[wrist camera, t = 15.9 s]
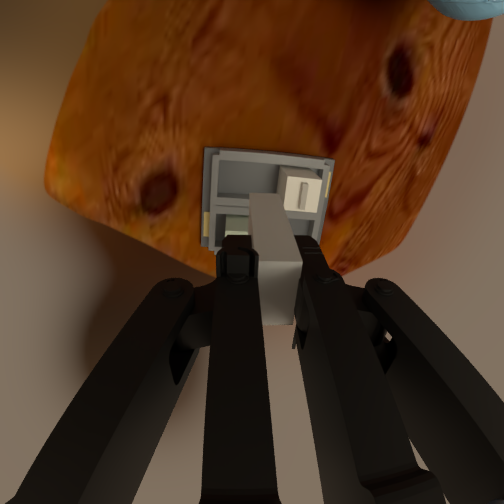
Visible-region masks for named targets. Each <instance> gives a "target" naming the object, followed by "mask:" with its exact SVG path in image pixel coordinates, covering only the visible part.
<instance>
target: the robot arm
mask: <svg viewBox="0 0 504 504" xmlns="http://www.w3.org/2000/svg"><path fill="white" fill-rule="evenodd" d="M427 1H429V2H430V3H431V4H432V5H433V6H434V7H435V8H436V9H437V10H438V11H439V12H440V13H442V14H443V15H445V16H448V17H451V18H453V19H457V20H466V21H472V20H482V19H488V18H492V17H496V16H499V15H502V14H504V0H427ZM216 275H217V278H216V279H215V280H214V281H213V282H211V283H209V284H207V285H204V286H201V287H195V288H194V287H193V285H192V284H191V283H190V282H189V281H188V280H185V279H182V278H169V279H165V280H162V281H160V282H158V283H157V284H156V285H155V286H154V287H153V288H152V289H151V291H150V292H149V293H148V295H147V296H146V297H145V299H144V300H143V301H142V302H141V304H140V305H139V307H138V308H137V309H136V310H135V312H134V313H133V314H132V316H131V317H130V319H129V320H128V321H127V323H126V324H125V325H124V327H123V328H122V329H121V331H120V332H119V334H118V335H117V336H116V338H115V339H114V341H113V342H112V343H111V345H110V346H109V347H108V349H107V350H106V352H105V353H104V354H103V356H102V357H101V359H100V360H99V362H98V363H97V364H96V366H95V367H94V369H93V370H92V372H91V373H90V375H89V376H88V378H87V379H86V380H85V382H84V383H83V385H82V386H81V388H80V389H79V391H78V392H77V394H76V395H75V397H74V398H73V400H72V401H71V403H70V404H69V406H68V407H67V409H66V411H65V412H64V414H63V415H62V417H61V418H60V420H59V422H58V423H57V425H56V426H55V428H54V429H53V431H52V433H51V434H50V436H49V438H48V439H47V441H46V442H45V444H44V446H43V447H42V449H41V451H40V452H39V454H38V456H37V457H36V459H35V461H34V463H33V464H32V466H31V468H30V469H29V471H28V473H27V475H26V476H25V478H24V480H23V482H22V484H21V486H20V487H19V489H18V491H17V493H16V495H15V496H14V497H13V498H12V499H10V500H9V501H8V502H7V503H5V504H132V502H133V500H134V497H135V495H136V493H137V490H138V488H139V486H140V483H141V481H142V479H143V477H144V474H145V472H146V470H147V467H148V465H149V463H150V461H151V458H152V456H153V454H154V452H155V449H156V447H157V445H158V443H159V440H160V438H161V436H162V434H163V431H164V429H165V427H166V425H167V422H168V420H169V418H170V416H171V413H172V411H173V409H174V407H175V404H176V402H177V400H178V398H179V395H180V393H181V391H182V388H183V386H184V384H185V382H186V380H187V378H188V375H189V373H190V371H191V369H192V366H193V364H194V362H195V360H196V357H197V355H198V353H199V349H200V348H201V347H205V346H210V354H209V355H210V356H209V367H208V380H207V395H206V410H205V426H204V444H203V465H202V489H201V499H200V502H199V504H281V501H280V499H279V496H278V490H277V489H278V488H277V478H276V467H275V456H274V446H273V434H272V423H271V412H270V402H269V390H268V380H267V369H266V358H265V348H264V337H263V327H262V325H292V324H293V319H294V314H295V319H296V328H295V333H294V338H293V344H292V349H295V346H296V344H297V349H298V355H299V360H300V365H301V370H302V375H303V381H304V387H305V392H306V397H307V403H308V409H309V414H310V420H311V425H312V432H313V438H314V443H315V450H316V455H317V462H318V467H319V474H320V480H321V486H322V493H323V499H324V504H446V501H445V498H444V495H445V497H446V498H447V500H448V501H449V503H450V504H504V402H503V401H502V400H501V399H500V397H499V396H498V395H497V394H496V392H495V391H494V390H493V389H492V388H491V386H490V385H489V384H488V383H487V382H486V380H485V379H484V378H483V377H482V375H480V373H479V372H478V371H477V370H476V369H475V368H474V366H473V365H472V364H471V363H470V362H469V360H468V359H467V358H466V357H465V356H464V355H463V354H462V353H461V351H459V349H458V348H457V347H456V346H455V345H454V344H453V342H451V340H450V339H449V338H448V337H447V336H446V335H445V334H444V333H443V332H442V331H441V329H440V328H439V327H438V326H437V325H436V324H435V323H434V322H433V321H432V320H431V319H430V318H429V317H428V316H427V315H426V314H425V313H424V312H423V311H422V310H421V309H420V307H418V305H416V303H415V302H414V301H413V300H412V299H410V297H409V296H408V295H406V294H405V292H403V291H402V289H401V288H400V287H398V286H397V285H396V284H395V283H393V282H391V281H389V280H387V279H383V278H373V279H370V280H368V282H367V283H366V285H365V288H360V287H355V286H351V285H347V284H345V282H344V280H343V278H342V277H341V275H340V274H339V273H337V272H336V271H334V270H332V269H330V268H329V266H328V264H327V262H326V260H325V257H324V255H323V254H322V251H321V249H320V247H319V244H318V242H317V241H316V240H315V239H314V238H312V237H311V236H310V235H293V232H292V229H291V226H290V223H289V220H288V218H287V215H286V212H285V209H284V206H283V204H282V201H281V198H280V195H279V194H273V193H249V217H248V235H227V236H226V237H225V238H224V239H223V240H222V248H221V249H220V250H219V251H218V252H217V254H216ZM387 331H388V333H389V334H390V335H391V336H392V339H391V341H389V340H388V339H387V338H386V337H385V335H386V333H387ZM408 437H409V438H408ZM409 439H410V440H411V442H412V444H413V445H414V447H415V448H416V450H417V451H418V453H419V455H420V456H421V458H422V459H423V461H424V463H425V464H426V466H427V467H428V469H429V471H427V470H424V469H421V468H420V467H419V466H418V464H417V462H416V459H415V456H414V453H413V450H412V447H411V444H410V441H409ZM443 493H444V494H443Z"/></svg>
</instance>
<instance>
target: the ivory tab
mask: <svg viewBox="0 0 504 504" xmlns="http://www.w3.org/2000/svg"><path fill="white" fill-rule="evenodd" d="M321 185H322V179H321V178H320V177H319V176H318V175H317V174H316V173H315V172H313V171H312V170H311V169H310V168H304V167H296V166H286V165H280V168H279V176H278V185H277V193H276V194H279V195H280V198H281V201H282V204H283V206H284V209H285V210H290V211H302V212H313V213H317V208H318V202H319V196H320V190H321Z"/></svg>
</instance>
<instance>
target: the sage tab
mask: <svg viewBox="0 0 504 504" xmlns="http://www.w3.org/2000/svg"><path fill="white" fill-rule="evenodd" d="M248 217H249V215H233V214H226V227H225V237H226V236H227V235H248Z"/></svg>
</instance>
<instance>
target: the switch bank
mask: <svg viewBox="0 0 504 504" xmlns="http://www.w3.org/2000/svg"><path fill="white" fill-rule="evenodd" d="M334 162H335V160H334V159H331V158H324V157H317V156H309V155H301V154H293V153H284V152H274V151H263V150H251V149H238V148H221V147H205V151H204V170H203V194H202V228H201V246H203V247H209V250H210V251H214V255H216V254H217V252H218V251H219V250H220V249H221V248H222V240H223V239H224V238H225V227H226V214H233V215H249V193H273V194H276V193H277V185H278V176H279V168H280V165H286V166H296V167H304V168H310V169H311V170H312V171H313V172H315V173H316V174H317V175H318V176H319V177H320V178H321V179H322V185H321V190H320V196H319V202H318V208H317V213H313V212H302V211H290V210H285V212H286V215H287V218H288V220H289V223H290V226H291V229H292V232H293V235H310V236H311V237H312V238H314V239H315V240H316V241H317V242H318V244H319V243H320V238H321V233H322V228H323V223H324V218H325V213H326V207H327V202H328V197H329V191H330V186H331V180H332V174H333V168H334Z"/></svg>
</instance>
